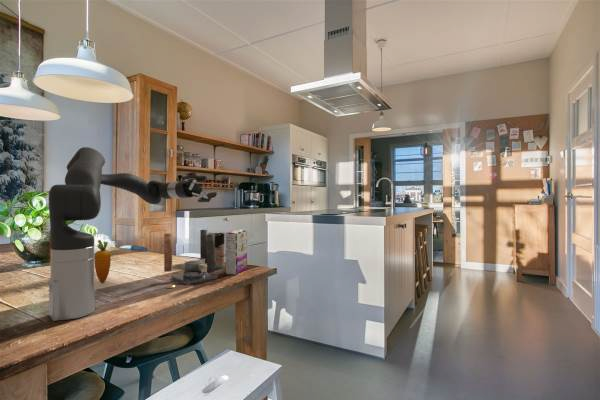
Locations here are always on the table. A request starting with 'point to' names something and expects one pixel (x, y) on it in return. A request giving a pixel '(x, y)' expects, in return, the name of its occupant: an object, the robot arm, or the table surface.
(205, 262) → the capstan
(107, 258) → the carrot
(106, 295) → the table surface
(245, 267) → the candy bar box
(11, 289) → the table surface
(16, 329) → the table surface
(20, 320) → the table surface
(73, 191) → the robot arm
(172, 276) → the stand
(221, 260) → the dark printed box
